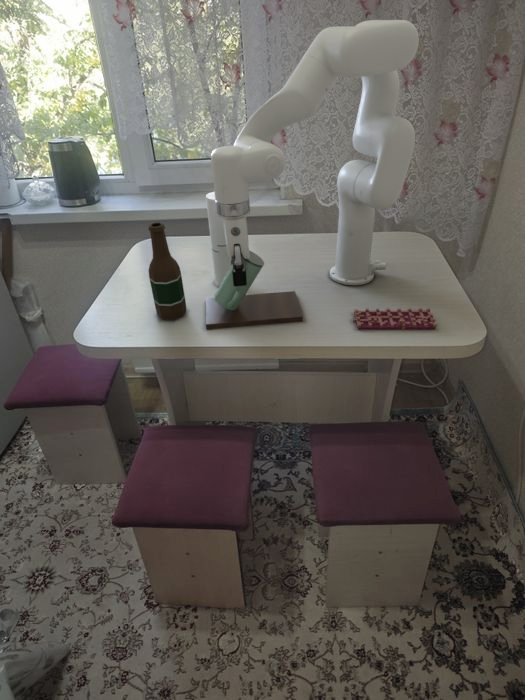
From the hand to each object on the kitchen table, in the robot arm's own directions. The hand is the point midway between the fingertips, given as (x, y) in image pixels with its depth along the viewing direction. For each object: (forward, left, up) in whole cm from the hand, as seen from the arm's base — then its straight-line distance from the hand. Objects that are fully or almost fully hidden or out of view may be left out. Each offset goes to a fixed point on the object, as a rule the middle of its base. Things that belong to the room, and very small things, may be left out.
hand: (239, 277), depth 112 cm
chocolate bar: (-37, +10, -10) cm, 39 cm away
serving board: (-3, +1, -10) cm, 10 cm away
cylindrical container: (+3, -17, -10) cm, 20 cm away
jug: (+4, +1, -7) cm, 8 cm away
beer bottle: (+18, -2, -10) cm, 21 cm away
